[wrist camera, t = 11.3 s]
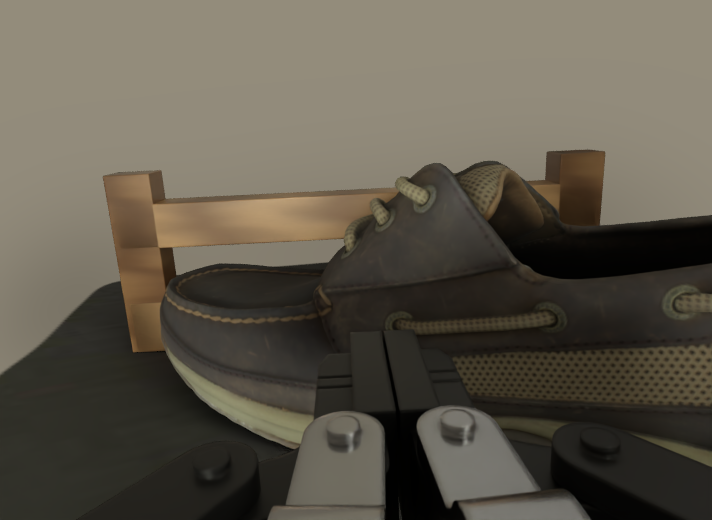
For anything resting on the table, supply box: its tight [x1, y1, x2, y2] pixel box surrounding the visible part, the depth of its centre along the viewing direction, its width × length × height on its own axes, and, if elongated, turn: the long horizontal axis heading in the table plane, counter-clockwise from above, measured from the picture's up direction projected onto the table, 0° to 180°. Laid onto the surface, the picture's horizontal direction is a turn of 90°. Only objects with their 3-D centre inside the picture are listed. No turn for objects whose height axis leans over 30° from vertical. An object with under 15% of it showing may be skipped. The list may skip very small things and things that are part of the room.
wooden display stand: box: [103, 150, 605, 352], centre depth 32 cm, size 27×8×10 cm, turn 92°
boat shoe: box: [160, 161, 712, 467], centre depth 21 cm, size 11×29×11 cm, turn 69°
